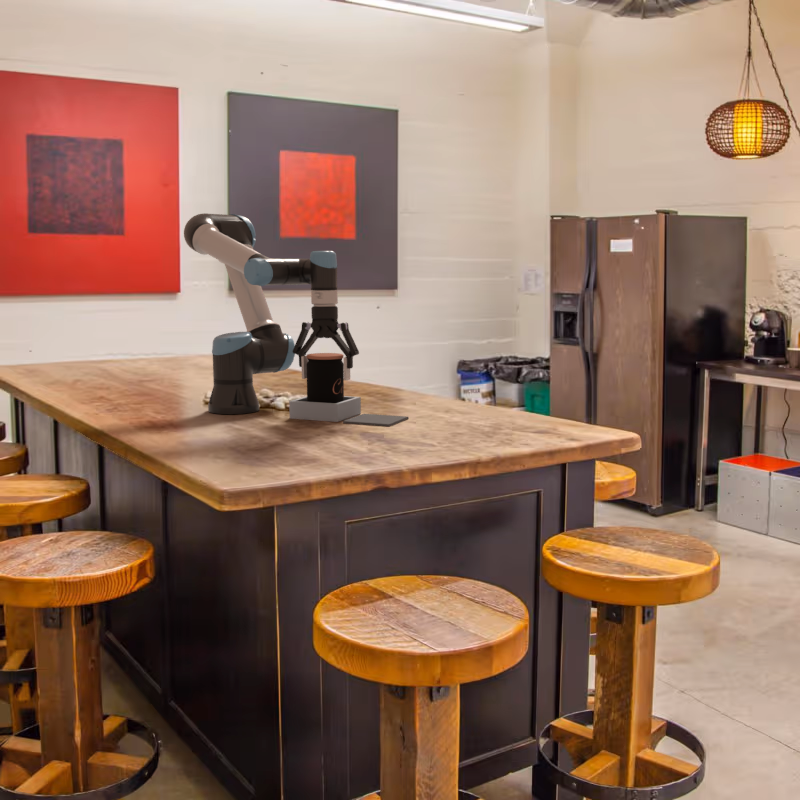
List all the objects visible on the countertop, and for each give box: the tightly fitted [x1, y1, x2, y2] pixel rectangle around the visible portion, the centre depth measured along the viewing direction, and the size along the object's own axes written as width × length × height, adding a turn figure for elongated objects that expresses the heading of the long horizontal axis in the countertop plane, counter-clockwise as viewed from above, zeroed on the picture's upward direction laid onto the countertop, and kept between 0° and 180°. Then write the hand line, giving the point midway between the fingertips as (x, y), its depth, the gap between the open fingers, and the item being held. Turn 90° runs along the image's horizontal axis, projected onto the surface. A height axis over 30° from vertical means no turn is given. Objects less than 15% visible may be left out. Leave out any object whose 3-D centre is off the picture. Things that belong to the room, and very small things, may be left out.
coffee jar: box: [306, 352, 345, 403], centre depth 266 cm, size 11×11×18 cm
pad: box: [342, 413, 409, 427], centre depth 259 cm, size 14×14×1 cm
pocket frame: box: [288, 395, 362, 423], centre depth 267 cm, size 15×15×5 cm
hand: (325, 379), depth 266 cm, fingers open, 13 cm apart
